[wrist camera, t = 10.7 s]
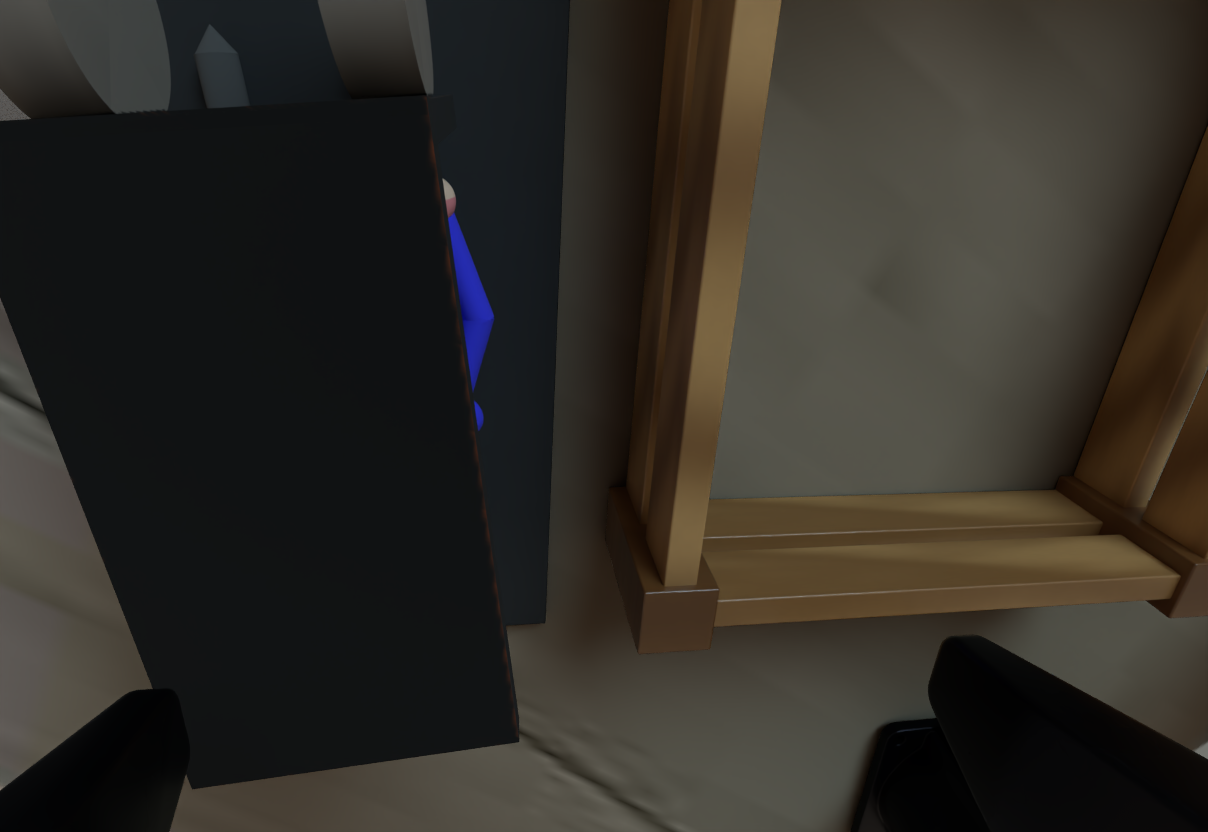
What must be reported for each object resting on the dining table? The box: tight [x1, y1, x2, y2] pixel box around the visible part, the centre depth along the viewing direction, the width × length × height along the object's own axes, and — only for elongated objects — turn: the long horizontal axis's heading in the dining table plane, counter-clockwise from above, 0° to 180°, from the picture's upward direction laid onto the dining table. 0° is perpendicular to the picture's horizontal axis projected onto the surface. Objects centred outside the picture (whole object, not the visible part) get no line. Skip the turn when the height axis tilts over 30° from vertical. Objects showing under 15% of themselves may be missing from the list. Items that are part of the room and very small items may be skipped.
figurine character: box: [0, 0, 519, 789], centre depth 13 cm, size 7×8×15 cm
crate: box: [605, 0, 1208, 654], centre depth 16 cm, size 21×17×5 cm
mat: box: [156, 0, 570, 625], centre depth 16 cm, size 20×10×1 cm, turn 176°
